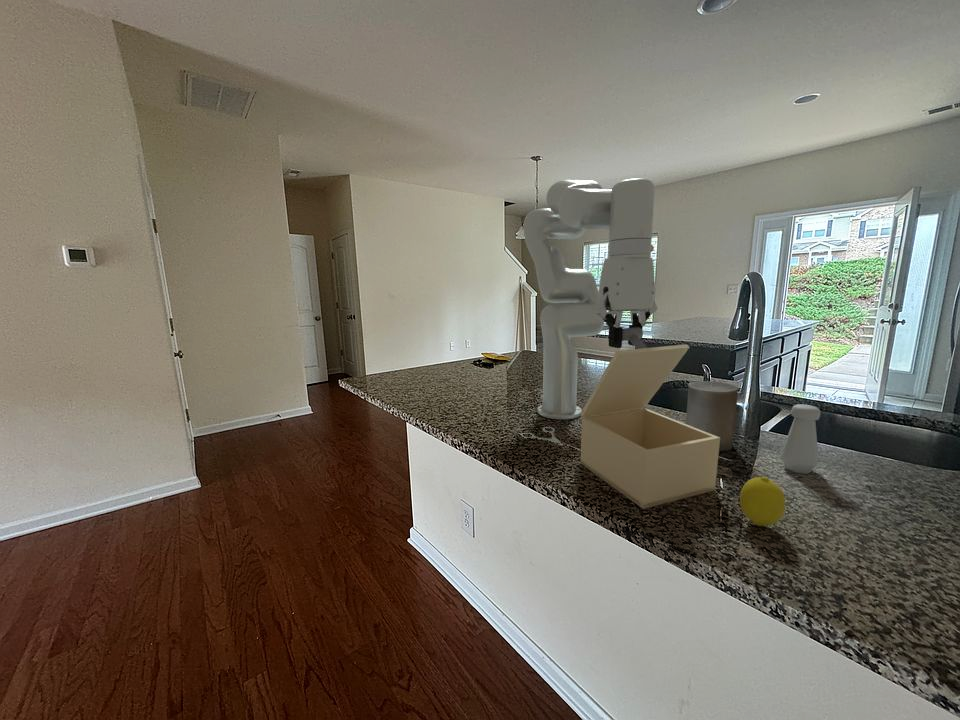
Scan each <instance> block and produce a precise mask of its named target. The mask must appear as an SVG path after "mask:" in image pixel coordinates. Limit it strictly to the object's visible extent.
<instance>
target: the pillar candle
mask: <svg viewBox="0 0 960 720" xmlns="http://www.w3.org/2000/svg"><path fill="white" fill-rule="evenodd" d="M687 386H688V389H687V390H688V392H687V405H686V406H687V407H686V418H685V421H686V422H685V424H687V425H689V426H692V427H694V428H697V429H699V430H702V431H705V432H707V433H710V434H712V435H715V436H717V437H720V445H719V452H725V451H730V450H732V449H733V448H734V446H733V444H734V437H735V427H736V419H737V417H736V416H737V408H738V407H737V405H738V404H737V403H738V395H739V394H738V392H739V388H738V387H737V386H736V385H733V384H732V383H726V382H721V381H716V380H713V381H710V380H709V381H707V380H699V381H693V382H689V383H688V385H687Z"/></svg>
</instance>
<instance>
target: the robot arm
mask: <svg viewBox="0 0 960 720" xmlns="http://www.w3.org/2000/svg"><path fill="white" fill-rule="evenodd" d="M654 203H655V184H654V182H653V181H652V180H650V179H648V178H642V177H641V178H638V177H637V178H630V179H624V180H621V181H619V182H617V183H615V184H614V185H613V186H612V188H611V189H603V186H602V185H601V184H600V183H598V182H597V181H594V180H578V179H575V180H573V179H572V180H571V179H563V180H558V181H556V182H554V183H553V184H552V185H551V186H550V187H549V189H548V190H547V193H546V204H547V206H548V208H545V207H544V208H543V207H542V208H537V209H534V210H531V211H529V212H528V213H527V214H526V215H525V218H524V221H523V237H524V238H523V239H524V241H525V245H526V249H528V252H529V255H530V256H531V258H532V261H533V263H534V268H535V273H536V278H537V283H538V288H539V293H540V296H541V298H542V299H543V301H545V302H547V303H550V304H547V306H545V307H544V308H543V309H542V310H541V311H540V317H539V318H540V319H539V320H540V327H541V328H540V329H541V337H542V343H543V344H542V348H543V349H542V350H543V351H542V352H543V353H542V356H543V357H542V359H543V361H542V362H543V366H542V367H543V368H542V369H543V372H542V374H543V375H542V394H541V395H540V396H539V397H540V399H541V400H542V404H540V405H539V406H538V407H537V414H539V415H540V416H541V417H543V418H547V419H552V420H572V419H577V418H579V417H581V415H580V413H581V412H582V410H583V409H582V408H581V407H580V406H578V405H577V395H578V393H577V391H578V362H579V361H578V358H579V357H578V351H577V348H576V347H575V345H574V344H573V343H572V341H571V338H576V337H578V338H579V337H591V336H592V337H593V336H597V335H599V334H600V333H601V332H602V331H603V330H604V326H605V325H606V327H608V339H607V341H608V346H609V347H611V348H615V349H621V348H622V347H623V341H622V328H623V327H621V323H622V319H623V312H629V313H630V323H631V324H629V326H628V328H634V327H640V328H641V329H642V330H643V327H644V326H646V325H647V321H648V320H649V318H650V317H651V315H653V314H655V312H656V311H658V306H657V304H656V302H655V288H656V287H655V268H654V261H653V259H654V258H653V257H652V256H651V255H652V252H653V251H654V249H655V248H654V245H653V244H652V236H653V235H652V234H653V222H654V221H653V220H654ZM587 230H608V231H609V232H608V233H609V234H608V236H609V237H608V257H607V258H605V259H604V261H603V264H602V268H601V274H600V279H599V287H598V285H597V284H598V283H597V281H596V278H595V277H594V275H593V273H592V272H591V271H589V270H588V269H584V268H568V267H567V266H566V265H565V259H564V256H563V254H562V252H561V250H560V249H559V248H558V246H556V245H555V244H554V243H552V242H551V240H576V239H579V238H580V237H582V236H583V235H584V234H585V233H586V231H587ZM640 340H641V341H642V342H643V337H642V338H641V339H640ZM627 344H628V345H629V346H633V347H635V346H634V345H633V344H632V343H631V341H630V340H627Z"/></svg>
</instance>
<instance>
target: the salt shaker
mask: <svg viewBox="0 0 960 720" xmlns="http://www.w3.org/2000/svg"><path fill="white" fill-rule="evenodd" d="M790 414H791V416H792V417H793V421H792V424H791V426H790V429H789V431H788V434H787V437H786V439H785V442H784V445H783V447H782V450H781V452H780V459H781V460H782V463H783V465H784V466H785V469H786V470H789V471H790V472H793V473H796V474H803V475H804V474H805V475H807V474H810V473H812V471H813V470H814V469H815V468H816V467H817V466H818V463H819V460H820V459H819V450H818V449H819V448H818V436H817V426H816V425H817V424H816V421H819V419H820V418H821V410H820V409H819V407H817V406H814V405H809V404H801V403H799V404H797V403H796V404H794V405H793V406H792V408H791V410H790Z"/></svg>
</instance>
